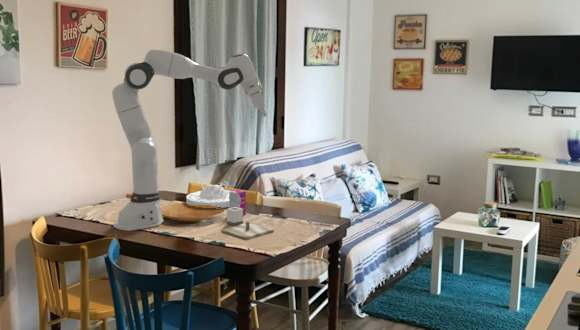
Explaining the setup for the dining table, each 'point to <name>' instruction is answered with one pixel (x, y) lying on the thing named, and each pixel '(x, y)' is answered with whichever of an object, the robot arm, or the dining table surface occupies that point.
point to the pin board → (247, 230)
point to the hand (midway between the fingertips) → (264, 114)
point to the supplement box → (238, 200)
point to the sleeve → (234, 216)
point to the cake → (210, 196)
